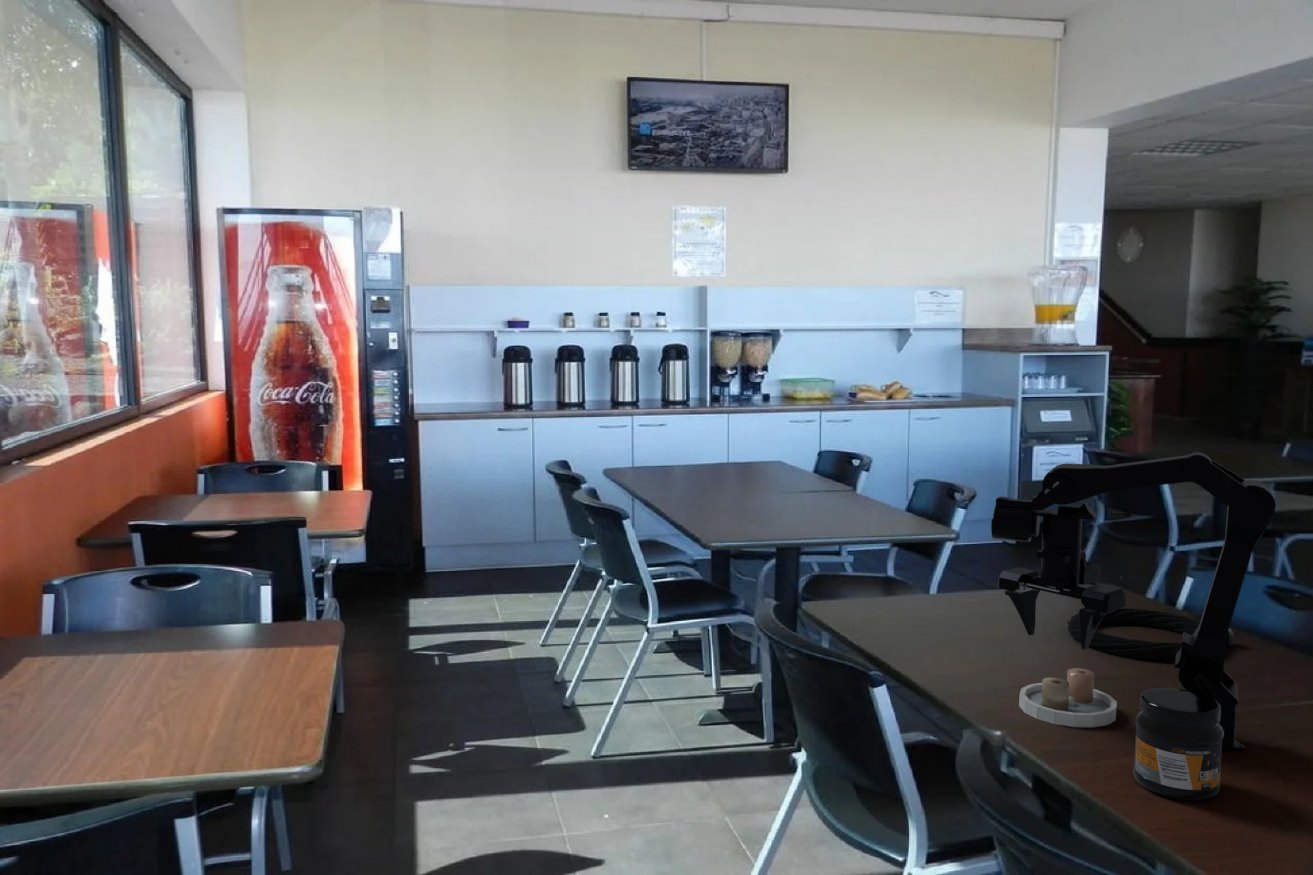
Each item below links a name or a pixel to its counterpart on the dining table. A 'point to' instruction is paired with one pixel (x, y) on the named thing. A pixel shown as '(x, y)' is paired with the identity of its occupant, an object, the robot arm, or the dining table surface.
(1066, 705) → the maple bead
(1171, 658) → the cable lock
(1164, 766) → the supplement container
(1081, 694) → the terracotta bead
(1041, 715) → the ring tray
